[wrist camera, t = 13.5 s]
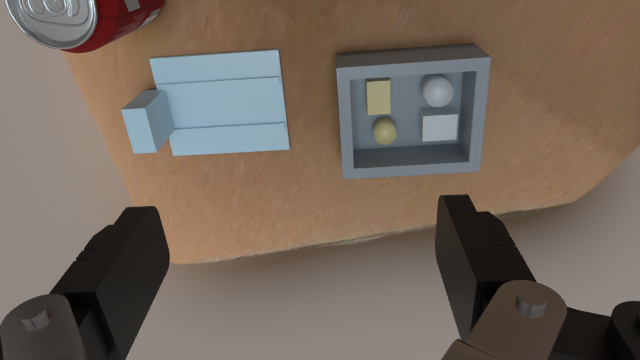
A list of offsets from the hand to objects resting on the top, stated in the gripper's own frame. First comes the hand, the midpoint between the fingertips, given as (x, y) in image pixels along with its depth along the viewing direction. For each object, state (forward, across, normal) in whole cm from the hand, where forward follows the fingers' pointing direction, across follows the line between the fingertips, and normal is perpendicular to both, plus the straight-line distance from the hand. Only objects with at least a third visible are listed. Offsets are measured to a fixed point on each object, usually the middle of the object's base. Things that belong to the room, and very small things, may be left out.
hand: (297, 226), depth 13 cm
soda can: (+30, +16, -4) cm, 35 cm away
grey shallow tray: (+30, -7, +7) cm, 32 cm away
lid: (+30, +10, +7) cm, 33 cm away
